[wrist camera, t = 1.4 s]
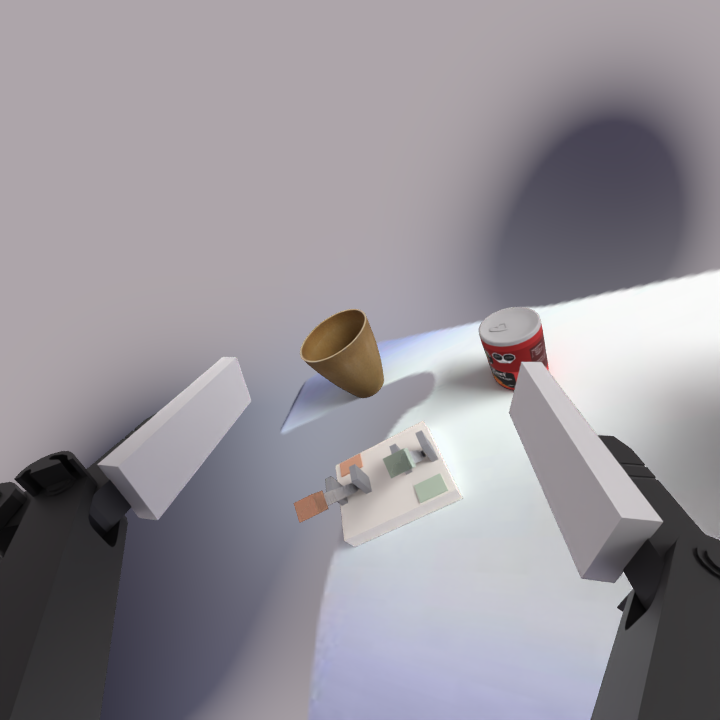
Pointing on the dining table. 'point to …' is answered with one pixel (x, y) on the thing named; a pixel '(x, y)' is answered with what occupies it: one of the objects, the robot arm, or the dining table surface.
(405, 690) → the dining table surface
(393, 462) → the lever
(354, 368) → the plant pot
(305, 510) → the lever
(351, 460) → the console
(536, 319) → the canned food
